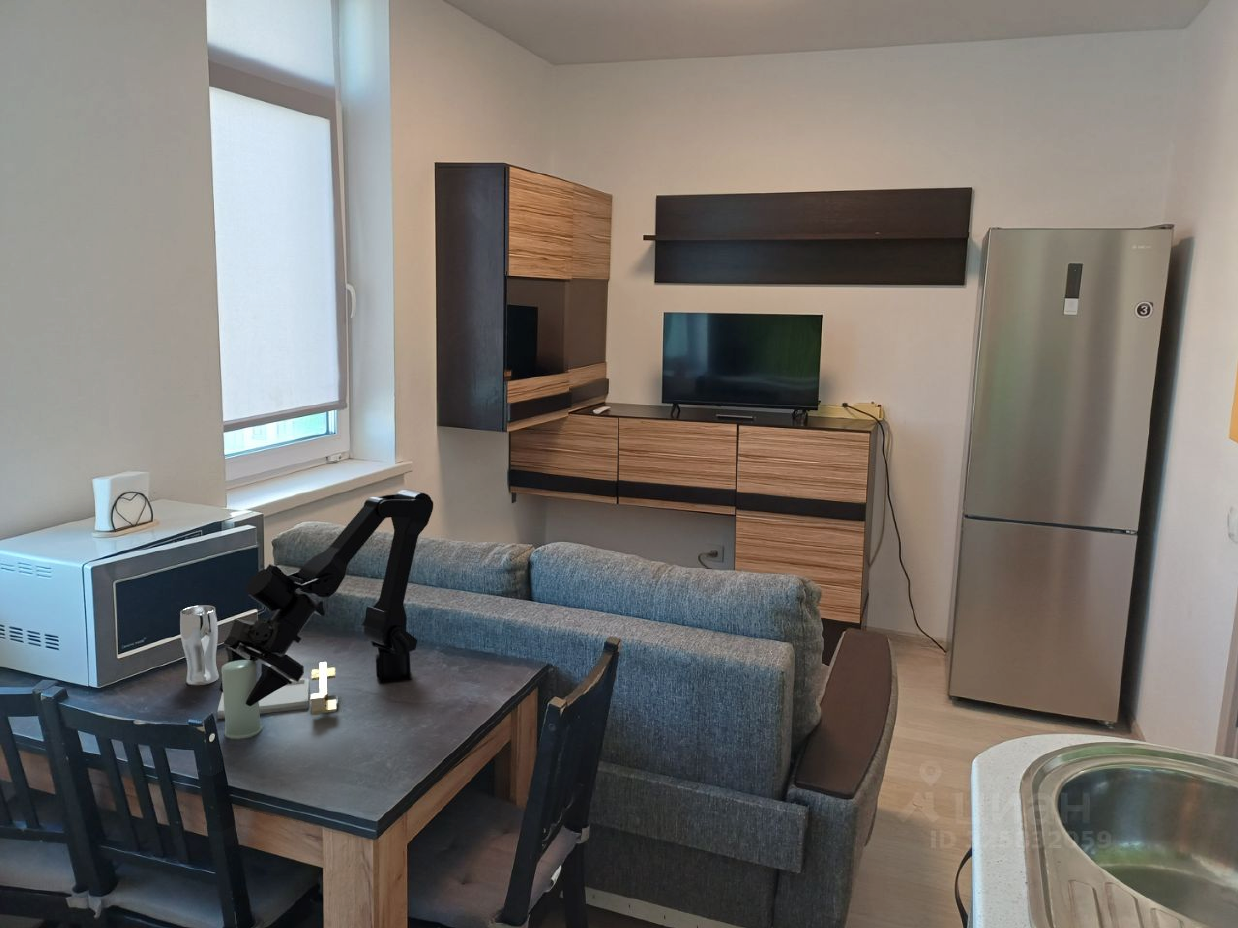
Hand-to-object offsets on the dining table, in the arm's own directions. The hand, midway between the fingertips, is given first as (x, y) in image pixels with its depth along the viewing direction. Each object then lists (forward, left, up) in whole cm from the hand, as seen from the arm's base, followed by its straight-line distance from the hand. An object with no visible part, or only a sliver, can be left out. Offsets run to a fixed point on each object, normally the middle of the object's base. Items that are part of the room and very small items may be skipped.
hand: (234, 698), depth 163 cm
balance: (-15, -8, -7) cm, 18 cm away
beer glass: (+9, -29, -7) cm, 31 cm away
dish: (-4, -14, -7) cm, 16 cm away
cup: (-1, -1, -7) cm, 7 cm away
